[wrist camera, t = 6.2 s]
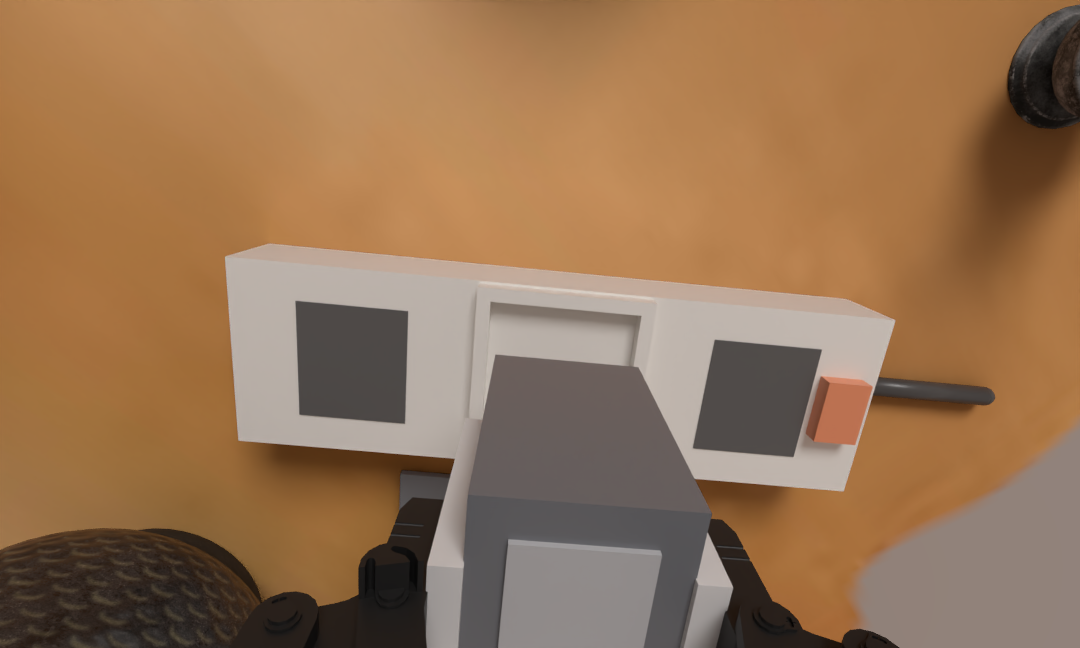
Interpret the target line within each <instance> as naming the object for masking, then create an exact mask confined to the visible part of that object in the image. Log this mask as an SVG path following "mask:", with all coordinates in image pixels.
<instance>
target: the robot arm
mask: <svg viewBox="0 0 1080 648" xmlns="http://www.w3.org/2000/svg"><path fill="white" fill-rule="evenodd" d="M481 425H482V420H480V419H468V418H466V419H465V422H464V426H463V430H462V434H461V438H460V441H459V445H458V449H457V453H456V457H455V460H454V464H453V468H452V472H451V476H450V479H449V483H448V487H447V491H446V495H445V498H444V500H442V499H429V498H416V497H412V498H411V499H410V500H409V501H408V502H407V503H406V504H405V505H404V506H403V507H402V508H400V511H399V514H398V516H397V519H396V522H395V525H394V527H393V529H392V532H391V536H390V537H389V540H388V542H387V543H386V544H382V545H379V546H377V547H375V548H373V549H371V550H369V551H368V552H367V553H366V554H365V556H364V557H363V558H362V559H361V562H360V565H359V594H358V595H357V596H355V597H353V598H351V599H349V600H346V601H342V602H339V603H335V604H329V605H324V606H319V607H318V606H317V603H316V600H315V599H313V598H312V597H311V596H309V595H308V594H305V593H301V592H286V593H281V594H278V595H275V596H273V597H270V598H268V599H267V600H265V601H264V602H262V603H261V604H259V605H258V606H257V607H256V608H255V609H254V610H253V611H252V613H251V614H250V615H249V616H248V618H247V620H246V621H245V623H244V625H243V626H242V628H241V629H240V631H239V633H238V634H237V636H236V638H235V639H234V641H233V643H232V644H231V646H230V648H458V647H459V633H460V618H461V603H462V589H463V574H464V562H463V557H464V542H465V527H466V512H467V498H468V491H469V486H470V480H471V475H472V470H473V465H474V460H475V455H476V450H477V445H478V440H479V435H480V430H481ZM749 559H750V558H749V557H748V555H747V553H746V551H745V550H743V545H742V544H741V542H740V540H739V538H738V536H737V534H736V533H735V532H734V531H733V530H732V529H731V528H730V527H729V526H728V525H727V524H726V523H725V522H724V521H723V520H718V519H711V520H710V524H709V528H708V533H707V537H706V541H705V546H704V550H703V555H702V559H701V563H700V568H699V572H698V576H697V578H696V580H695V584H694V589H693V593H692V597H691V602H690V606H689V610H688V615H687V619H686V624H685V628H684V632H683V637H682V641H681V645H680V648H899V647H898V646H896V645H895V644H893V643H892V642H891V641H889V640H888V639H887V638H885V637H882V636H880V635H878V634H876V633H874V632H871V631H866V630H862V629H856V630H850V631H848V632H847V633H846V634H845V635H844V637H843V640H842V643H839V642H836V641H833V640H830V639H827V638H824V637H821V636H818V635H815V634H812V633H810V632H808V631H805V630H803V629H802V627H801V625H800V623H799V621H798V620H797V618H796V617H795V616H794V615H793V614H792V613H791V612H790V611H789V610H787V609H786V608H784V607H783V606H781V605H780V604H778V603H776V602H773V601H772V599H771V597H770V596H769V594H768V592H767V590H766V588H765V586H764V584H763V583H762V581H761V579H760V577H759V575H758V573H757V571H756V570H755V568H754V566H753V564H752V562H751V561H750V560H749Z"/></svg>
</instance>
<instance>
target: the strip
mask: <svg viewBox="0 0 1080 648" xmlns="http://www.w3.org/2000/svg"><path fill="white" fill-rule="evenodd" d="M225 264H226V278H227V291H228V305H229V319H230V332H231V346H232V360H233V374H234V387H235V401H236V415H237V428H238V441H249V442H261V443H273V444H285V445H297V446H309V447H321V448H333V449H345V450H357V451H369V452H381V453H392V454H404V455H416V456H428V457H440V458H452V459H455V457H456V453H457V449H458V445H459V441H460V438H461V434H462V430H463V426H464V422H465V419H466V418H468V419H480V420H483V415H484V410H485V404H486V399H487V394H488V389H489V384H490V379H491V374H492V369H493V364H494V359H495V354H496V355H507V356H519V357H530V358H541V359H553V360H564V361H575V362H587V363H598V364H609V365H621V366H632V367H639V369H640V371H641V373H642V375H643V377H644V379H645V381H646V383H647V385H648V387H649V389H650V391H651V393H652V395H653V397H654V399H655V401H656V403H657V405H658V407H659V409H660V411H661V413H662V415H663V417H664V419H665V421H666V423H667V425H668V427H669V429H670V431H671V433H672V435H673V437H674V439H675V441H676V443H677V445H678V447H679V449H680V451H681V453H682V455H683V457H684V459H685V461H686V463H687V465H688V467H689V469H690V471H691V473H692V475H693V477H694V479H703V480H715V481H726V482H738V483H750V484H762V485H774V486H786V487H798V488H810V489H822V490H834V491H844V489H845V485H846V482H847V479H848V475H849V472H850V469H851V465H852V462H853V459H854V456H855V452H856V449H857V446H858V442H859V439H860V436H861V432H862V429H863V426H864V423H865V419H866V416H867V413H868V409H869V406H870V403H871V399H872V396H873V395H875V396H886V397H897V398H908V399H919V400H930V401H941V402H952V403H963V404H974V405H989V404H991V403H992V402H993V401H994V399H995V394H994V392H993V391H992V390H991V389H989V388H987V387H979V386H968V385H957V384H946V383H936V382H925V381H914V380H903V379H892V378H881V377H878V376H879V373H880V370H881V367H882V363H883V360H884V357H885V353H886V350H887V347H888V343H889V340H890V337H891V334H892V330H893V327H894V324H895V320H894V319H892V318H889V317H887V316H885V315H882V314H880V313H878V312H875V311H873V310H871V309H868V308H866V307H864V306H861V305H859V304H857V303H855V302H852V301H850V300H848V299H842V298H832V297H821V296H811V295H800V294H790V293H780V292H769V291H759V290H748V289H738V288H727V287H717V286H707V285H696V284H686V283H675V282H665V281H655V280H644V279H634V278H623V277H613V276H603V275H592V274H582V273H571V272H561V271H551V270H540V269H530V268H519V267H509V266H499V265H488V264H478V263H467V262H457V261H447V260H436V259H426V258H415V257H405V256H394V255H384V254H374V253H363V252H353V251H342V250H332V249H322V248H311V247H301V246H290V245H280V244H270V243H269V244H266V245H263V246H259V247H256V248H252V249H249V250H245V251H242V252H239V253H235V254H232V255H228V256H225Z"/></svg>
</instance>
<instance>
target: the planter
mask: <svg viewBox="0 0 1080 648" xmlns="http://www.w3.org/2000/svg"><path fill="white" fill-rule="evenodd" d="M261 603H262V602H261V597H260V594H259V591H258V588H257V586H256V584H255V583H254V581H253V579H252V577H251V575H250V574H249V573H248V571H247V570H246V569H245V567H244V566H243V565H242V564H241V563H240V562H239V561H238V560H237V559H236V558H235V557H234V556H233V555H232V554H230V553H229V552H228V551H226V550H225V549H224V548H222V547H220V546H219V545H217V544H215V543H213V542H212V541H210V540H207V539H205V538H203V537H200V536H198V535H194V534H191V533H187V532H184V531H178V530H171V529H144V530H131V529H109V528H100V529H87V530H77V531H67V532H61V533H55V534H50V535H46V536H42V537H38V538H34V539H30V540H27V541H24V542H21V543H18V544H15V545H12V546H9V547H6V548H4V549H1V550H0V648H230V646H231V644H232V643H233V641H234V639H235V638H236V636H237V634H238V633H239V631H240V629H241V628H242V626H243V625H244V623H245V621H246V620H247V618H248V616H249V615H250V614H251V613H252V611H253V610H254V609H255V608H256V607H257V606H258V605H259V604H261Z"/></svg>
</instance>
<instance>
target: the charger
mask: <svg viewBox="0 0 1080 648" xmlns="http://www.w3.org/2000/svg"><path fill="white" fill-rule="evenodd" d="M711 515H712V513H711V511H710V509H709V507H708V505H707V503H706V501H705V499H704V497H703V495H702V493H701V491H700V489H699V487H698V485H697V483H696V481H695V479H694V477H693V475H692V473H691V471H690V469H689V467H688V465H687V463H686V461H685V459H684V457H683V455H682V453H681V451H680V449H679V447H678V445H677V443H676V441H675V439H674V437H673V435H672V433H671V431H670V429H669V427H668V425H667V423H666V421H665V419H664V417H663V415H662V413H661V411H660V409H659V407H658V405H657V403H656V401H655V399H654V397H653V395H652V393H651V391H650V389H649V387H648V385H647V383H646V381H645V379H644V377H643V375H642V373H641V371H640V369H639V367H632V366H621V365H609V364H598V363H587V362H575V361H564V360H553V359H541V358H530V357H519V356H507V355H496V354H495V359H494V364H493V369H492V374H491V379H490V384H489V389H488V394H487V399H486V404H485V410H484V415H483V420H482V425H481V430H480V435H479V440H478V445H477V450H476V455H475V460H474V465H473V470H472V475H471V480H470V486H469V491H468V498H467V512H466V527H465V542H464V557H463V562H464V574H463V589H462V603H461V618H460V633H459V647H458V648H680V645H681V641H682V637H683V632H684V628H685V624H686V619H687V615H688V610H689V606H690V602H691V597H692V593H693V589H694V584H695V580H696V578H697V576H698V572H699V568H700V563H701V559H702V555H703V550H704V546H705V541H706V537H707V533H708V528H709V524H710V520H711Z"/></svg>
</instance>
